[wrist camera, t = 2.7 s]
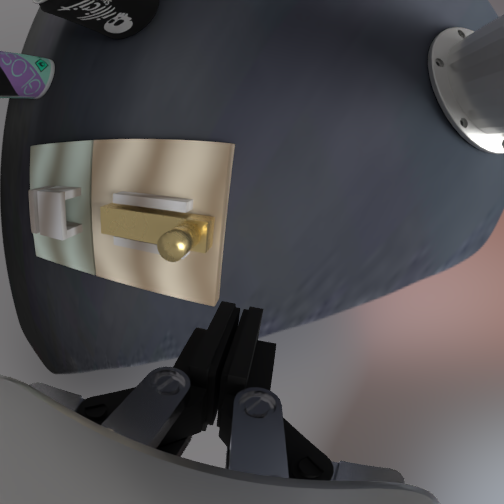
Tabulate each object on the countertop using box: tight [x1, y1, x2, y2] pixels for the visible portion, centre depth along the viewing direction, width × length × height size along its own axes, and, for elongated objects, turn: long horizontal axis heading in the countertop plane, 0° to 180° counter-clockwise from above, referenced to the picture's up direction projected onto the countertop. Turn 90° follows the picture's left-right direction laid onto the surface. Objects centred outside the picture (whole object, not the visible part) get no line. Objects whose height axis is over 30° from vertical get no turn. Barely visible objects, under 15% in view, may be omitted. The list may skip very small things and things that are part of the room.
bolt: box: [100, 203, 215, 262], centre depth 20 cm, size 10×2×5 cm, turn 83°
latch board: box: [29, 139, 235, 306], centre depth 23 cm, size 25×14×5 cm, turn 83°
